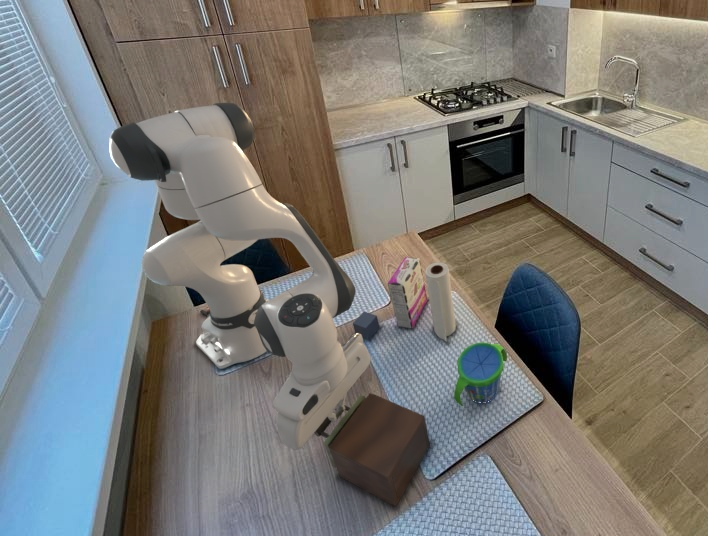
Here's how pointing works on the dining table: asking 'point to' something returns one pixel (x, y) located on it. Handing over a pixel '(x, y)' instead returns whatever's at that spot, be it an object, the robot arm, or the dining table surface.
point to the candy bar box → (407, 292)
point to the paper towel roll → (440, 299)
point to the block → (366, 325)
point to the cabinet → (381, 448)
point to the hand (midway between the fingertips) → (337, 414)
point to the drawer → (339, 427)
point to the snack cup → (480, 372)
